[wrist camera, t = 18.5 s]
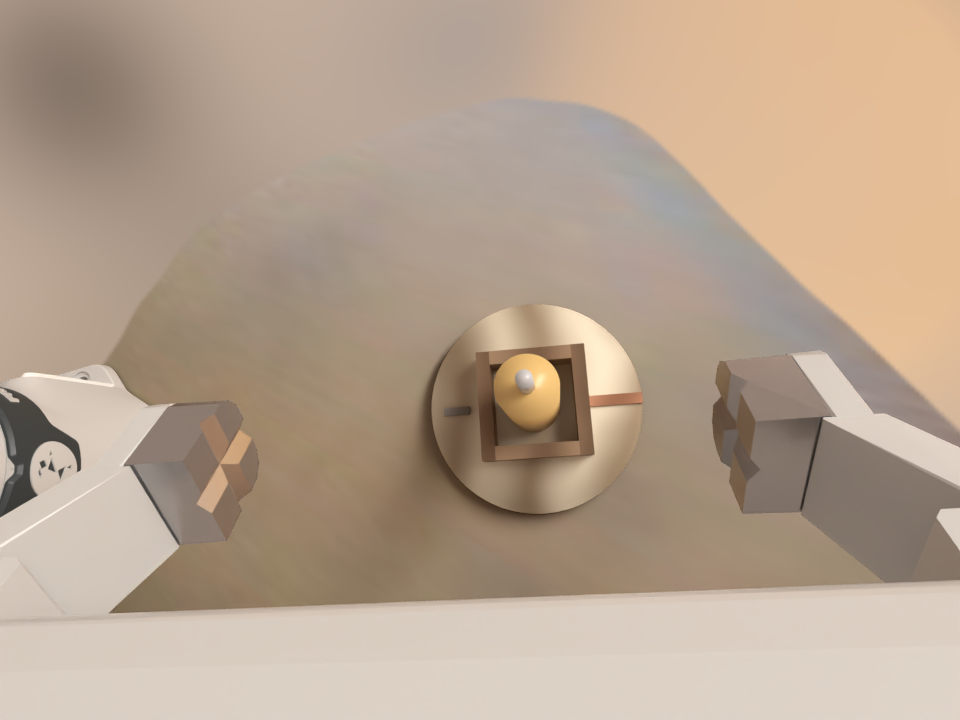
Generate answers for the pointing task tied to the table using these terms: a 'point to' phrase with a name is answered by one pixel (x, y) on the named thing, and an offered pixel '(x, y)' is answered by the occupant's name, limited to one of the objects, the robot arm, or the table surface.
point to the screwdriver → (528, 391)
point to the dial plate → (568, 441)
